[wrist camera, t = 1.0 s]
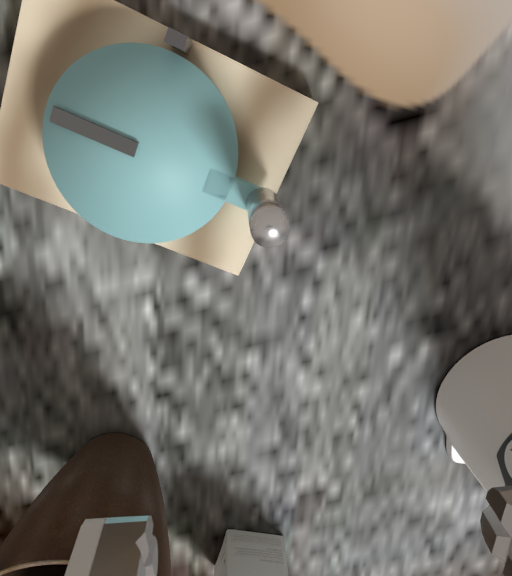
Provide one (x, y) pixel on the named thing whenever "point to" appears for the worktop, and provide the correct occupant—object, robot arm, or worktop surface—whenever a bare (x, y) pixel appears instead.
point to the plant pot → (87, 506)
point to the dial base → (141, 29)
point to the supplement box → (251, 555)
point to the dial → (149, 148)
